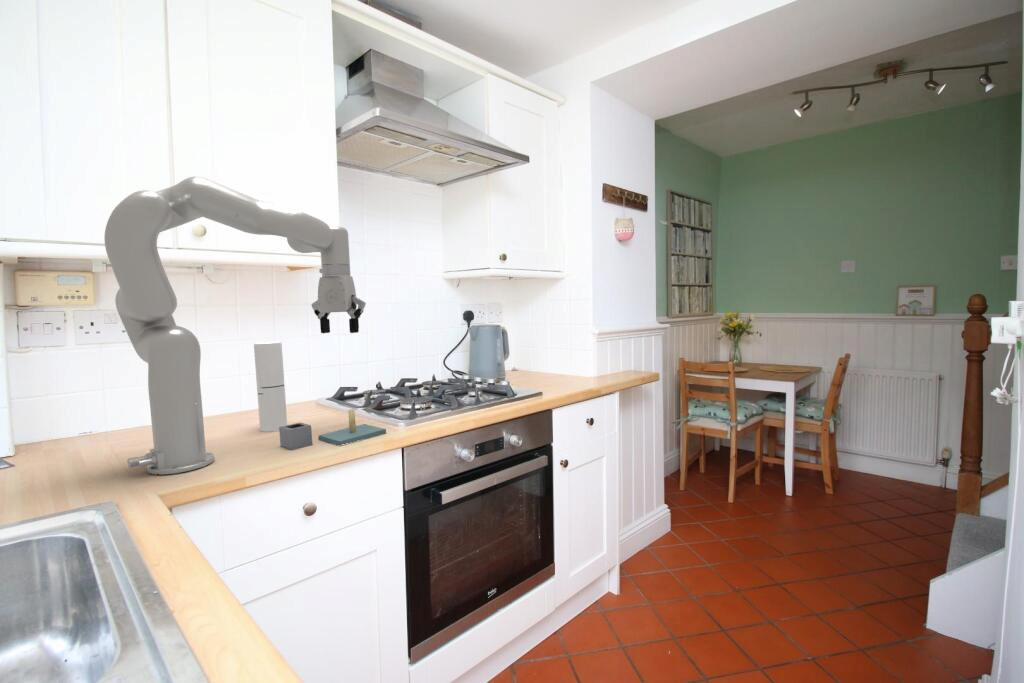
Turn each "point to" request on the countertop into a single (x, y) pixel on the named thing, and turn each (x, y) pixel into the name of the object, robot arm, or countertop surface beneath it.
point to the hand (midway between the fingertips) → (339, 332)
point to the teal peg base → (352, 432)
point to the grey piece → (270, 385)
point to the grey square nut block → (295, 436)
